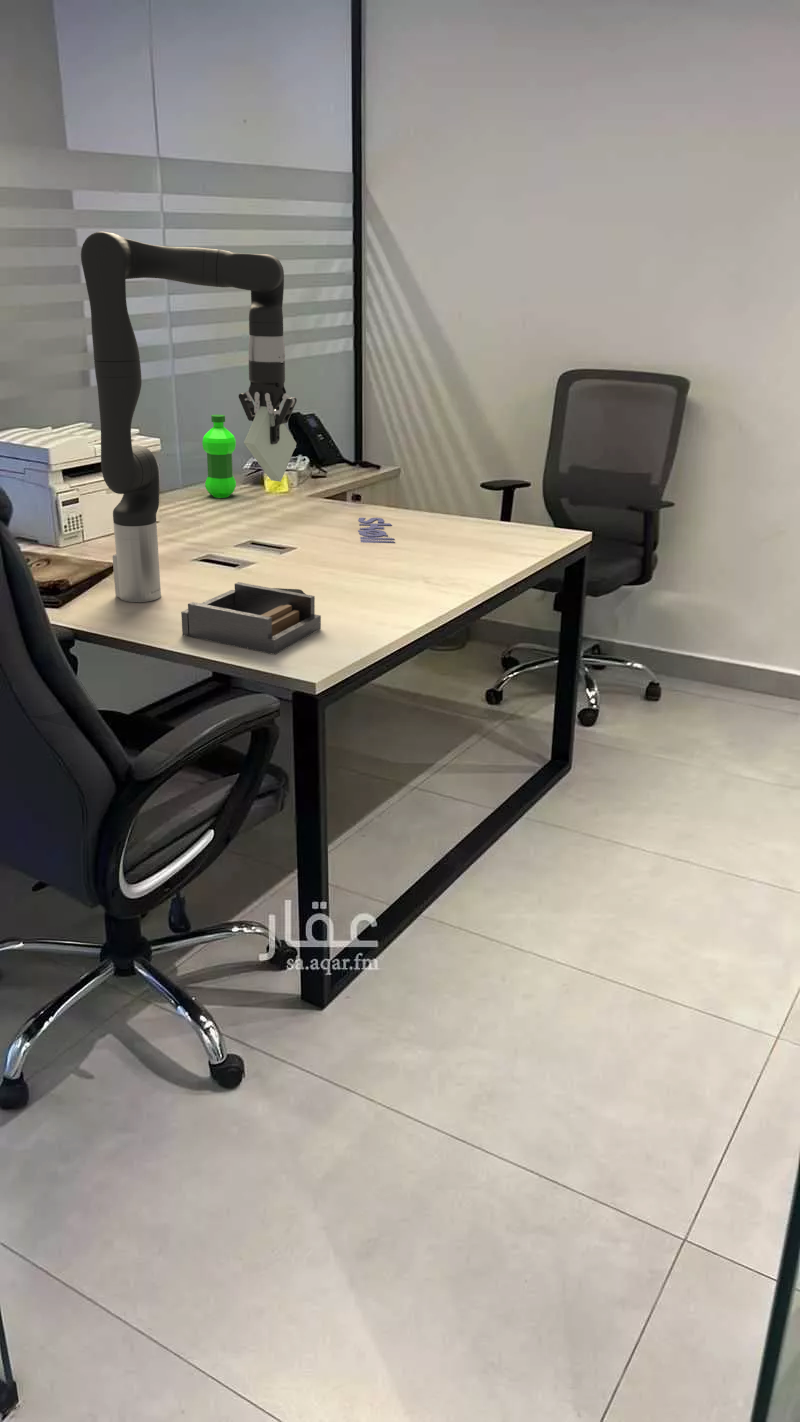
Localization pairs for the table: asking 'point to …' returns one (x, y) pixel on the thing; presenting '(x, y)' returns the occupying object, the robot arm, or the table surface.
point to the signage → (373, 531)
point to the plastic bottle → (219, 458)
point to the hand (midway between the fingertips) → (268, 442)
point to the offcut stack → (282, 618)
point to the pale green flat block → (269, 446)
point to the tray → (250, 618)
